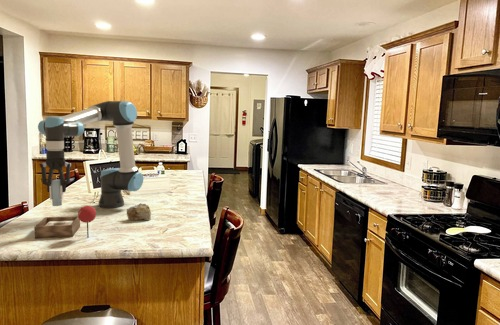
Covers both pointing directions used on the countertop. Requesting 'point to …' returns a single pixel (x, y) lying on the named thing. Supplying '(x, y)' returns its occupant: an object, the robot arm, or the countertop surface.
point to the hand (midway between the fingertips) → (56, 198)
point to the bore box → (57, 227)
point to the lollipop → (87, 215)
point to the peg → (56, 193)
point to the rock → (139, 212)
